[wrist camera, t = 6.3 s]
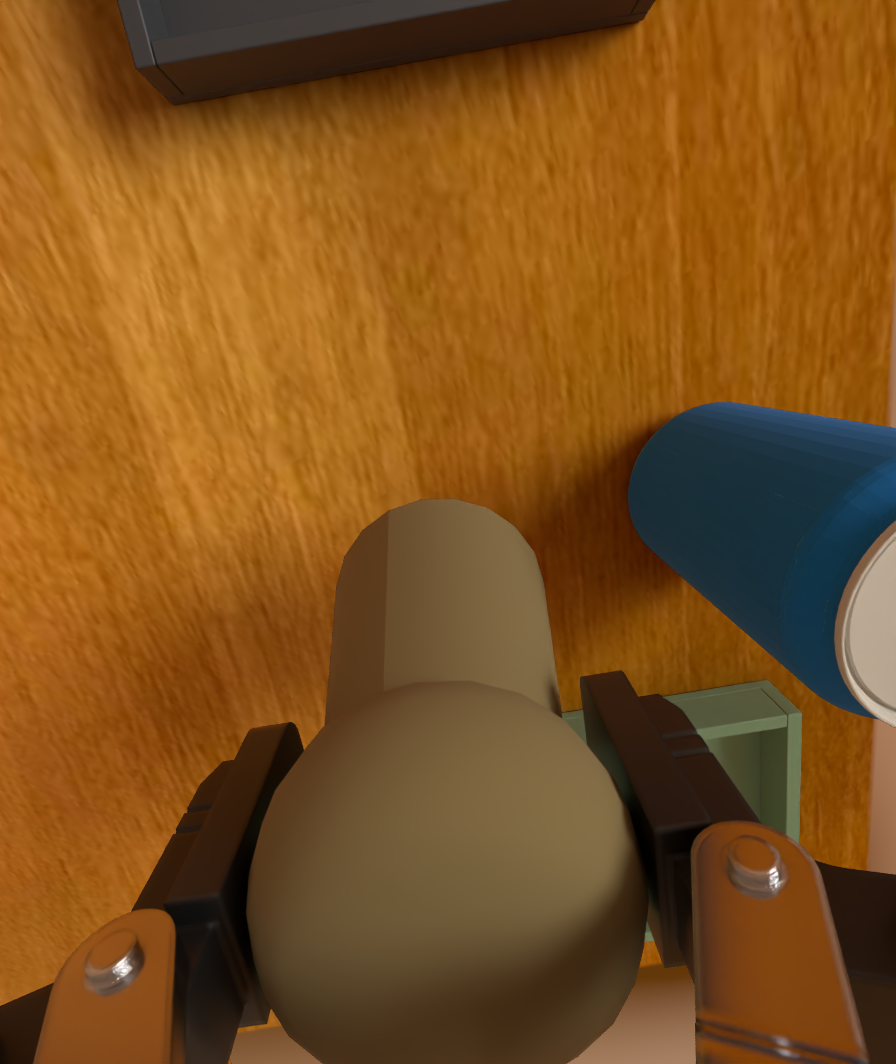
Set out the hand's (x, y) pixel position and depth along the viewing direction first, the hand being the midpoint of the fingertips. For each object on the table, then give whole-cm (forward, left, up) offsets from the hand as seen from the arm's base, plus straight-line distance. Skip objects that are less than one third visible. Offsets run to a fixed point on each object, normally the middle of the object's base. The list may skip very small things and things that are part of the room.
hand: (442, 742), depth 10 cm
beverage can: (-11, 0, -13) cm, 17 cm away
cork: (0, 0, -7) cm, 7 cm away
